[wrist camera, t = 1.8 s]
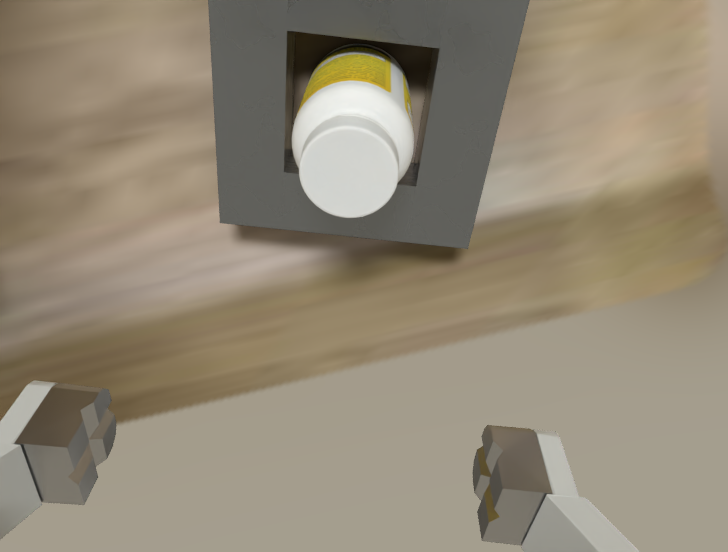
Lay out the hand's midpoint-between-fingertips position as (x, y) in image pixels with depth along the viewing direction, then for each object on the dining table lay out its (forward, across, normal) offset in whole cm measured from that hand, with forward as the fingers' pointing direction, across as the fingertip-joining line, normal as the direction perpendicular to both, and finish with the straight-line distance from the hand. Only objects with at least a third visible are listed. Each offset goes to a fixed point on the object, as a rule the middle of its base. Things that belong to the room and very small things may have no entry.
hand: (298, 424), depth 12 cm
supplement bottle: (+22, 0, -1) cm, 22 cm away
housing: (+22, 0, -1) cm, 22 cm away
